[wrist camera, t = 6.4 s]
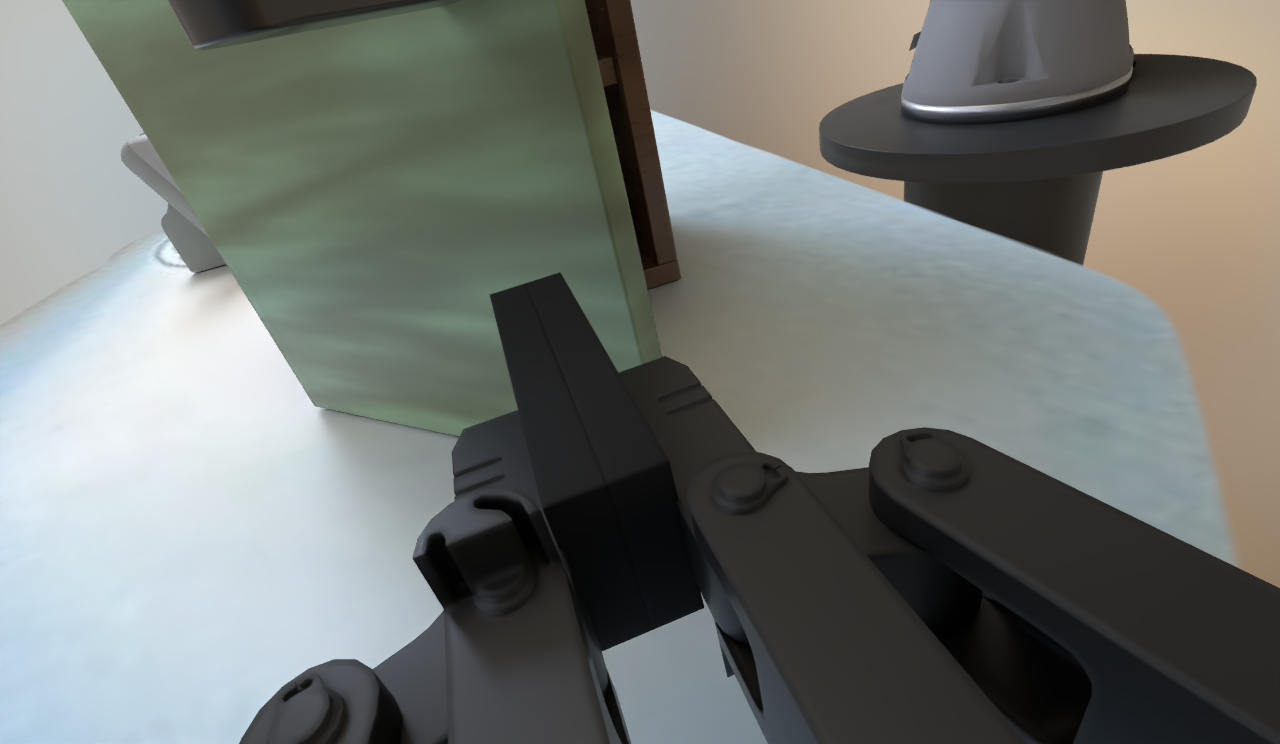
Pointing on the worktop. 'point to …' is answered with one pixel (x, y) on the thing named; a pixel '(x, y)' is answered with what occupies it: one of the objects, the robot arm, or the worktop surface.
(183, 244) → the digital clock
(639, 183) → the cupboard
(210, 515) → the worktop surface
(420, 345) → the door
